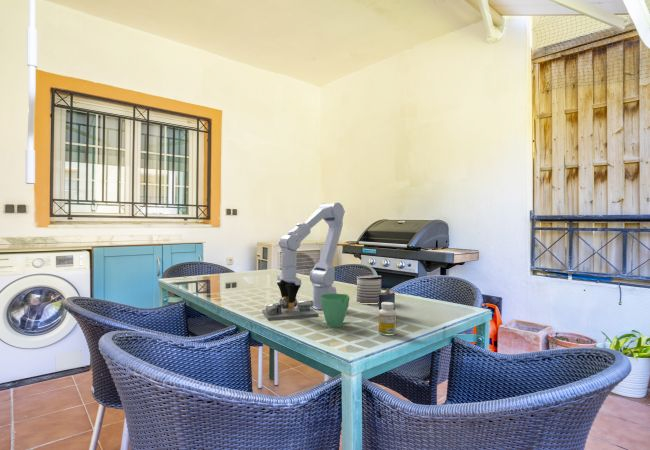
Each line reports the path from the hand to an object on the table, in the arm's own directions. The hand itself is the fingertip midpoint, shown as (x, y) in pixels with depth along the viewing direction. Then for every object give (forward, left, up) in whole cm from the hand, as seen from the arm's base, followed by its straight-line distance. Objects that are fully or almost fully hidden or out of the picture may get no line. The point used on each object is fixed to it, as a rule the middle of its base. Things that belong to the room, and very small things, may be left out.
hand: (288, 301), depth 138 cm
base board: (0, +1, -5) cm, 5 cm away
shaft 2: (-7, 0, -5) cm, 8 cm away
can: (-40, -10, -5) cm, 41 cm away
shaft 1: (+6, +2, -5) cm, 8 cm away
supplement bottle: (-24, +34, -5) cm, 42 cm away
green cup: (-13, +19, -5) cm, 23 cm away
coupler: (0, 0, -3) cm, 3 cm away
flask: (-35, +15, -5) cm, 38 cm away
